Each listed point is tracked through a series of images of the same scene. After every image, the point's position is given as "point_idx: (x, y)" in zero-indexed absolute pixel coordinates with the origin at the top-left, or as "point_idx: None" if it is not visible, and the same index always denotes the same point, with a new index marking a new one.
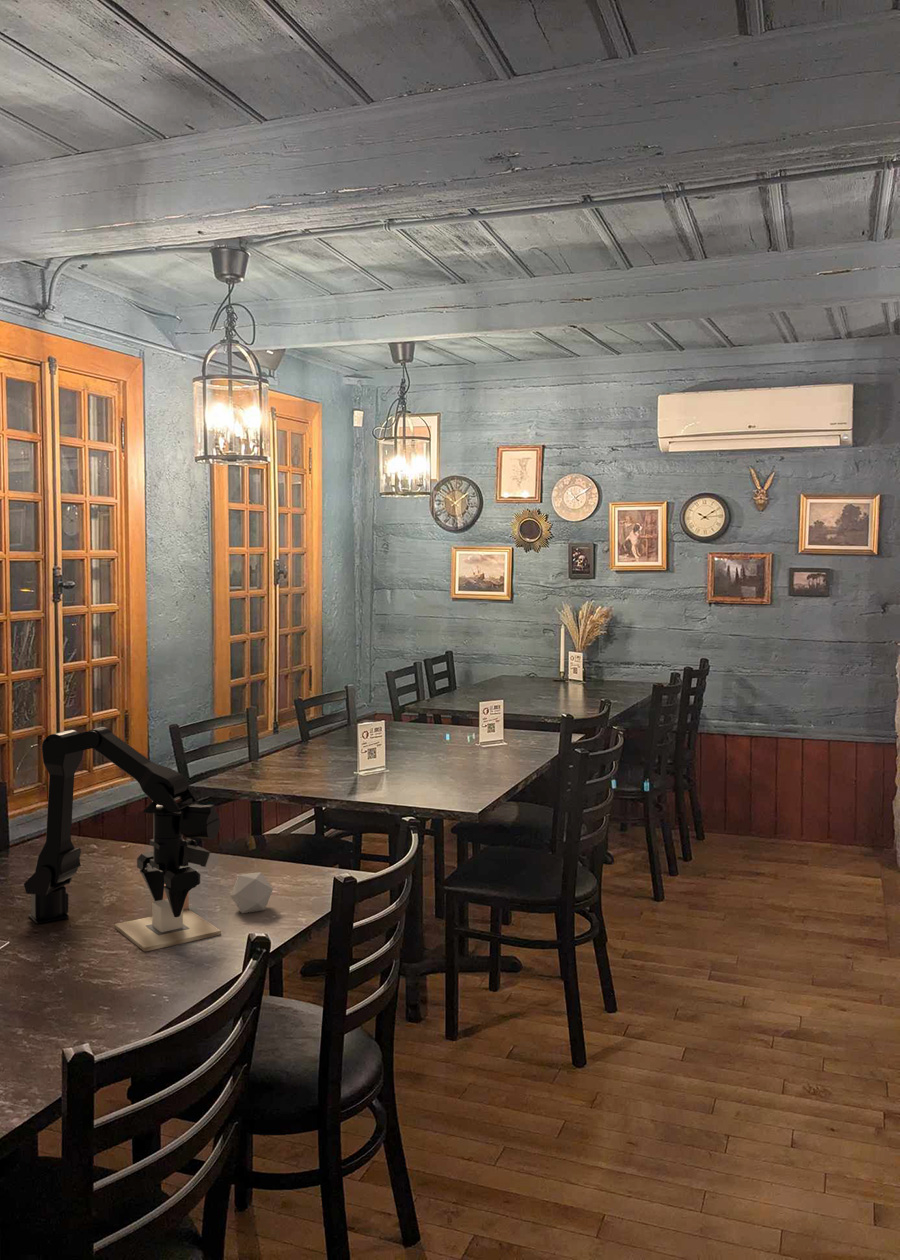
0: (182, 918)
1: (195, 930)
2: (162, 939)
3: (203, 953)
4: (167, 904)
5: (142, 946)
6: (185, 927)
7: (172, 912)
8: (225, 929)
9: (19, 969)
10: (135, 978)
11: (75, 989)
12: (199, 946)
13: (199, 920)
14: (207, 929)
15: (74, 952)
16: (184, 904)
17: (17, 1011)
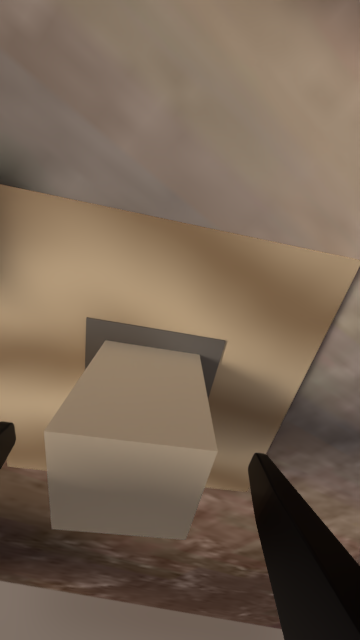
0: (203, 380)
1: (262, 335)
2: (235, 443)
3: None
4: (157, 506)
5: (233, 489)
6: (207, 347)
7: (253, 503)
8: (322, 197)
9: (140, 598)
10: (344, 535)
11: None
12: (350, 378)
13: (170, 247)
14: (297, 295)
15: (127, 546)
16: None
17: (279, 624)
